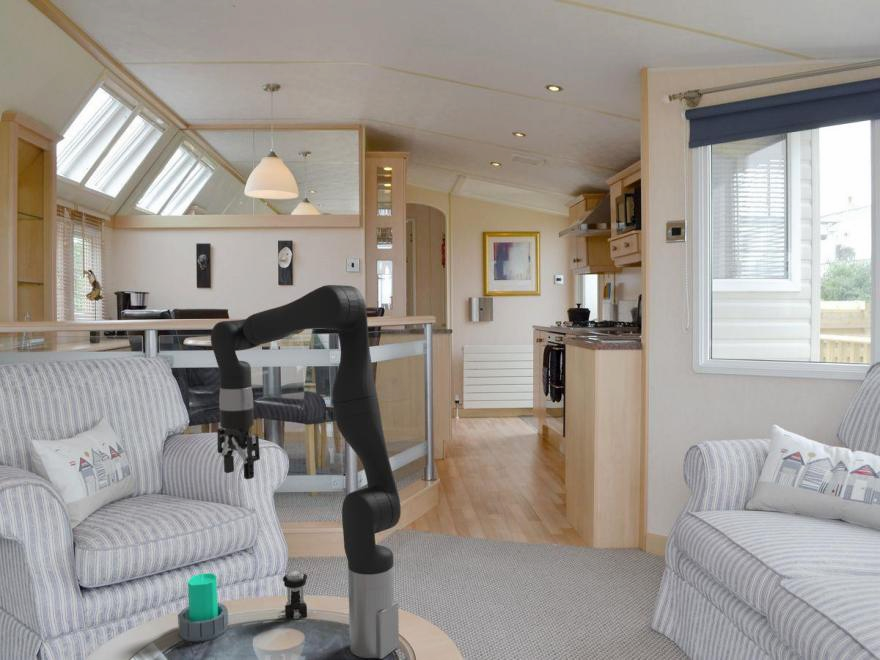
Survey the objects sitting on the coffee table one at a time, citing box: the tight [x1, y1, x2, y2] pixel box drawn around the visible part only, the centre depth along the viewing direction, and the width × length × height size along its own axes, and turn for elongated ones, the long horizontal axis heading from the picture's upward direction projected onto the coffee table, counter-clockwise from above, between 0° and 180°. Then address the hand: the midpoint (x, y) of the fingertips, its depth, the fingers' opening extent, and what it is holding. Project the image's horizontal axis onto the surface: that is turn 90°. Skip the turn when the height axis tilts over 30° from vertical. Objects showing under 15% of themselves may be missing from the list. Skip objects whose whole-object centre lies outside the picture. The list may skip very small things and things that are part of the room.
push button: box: [277, 569, 308, 620], centre depth 169 cm, size 7×5×10 cm
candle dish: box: [177, 602, 229, 643], centre depth 163 cm, size 10×10×4 cm
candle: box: [187, 572, 218, 621], centre depth 163 cm, size 6×6×12 cm
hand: (238, 475), depth 176 cm, fingers open, 8 cm apart
